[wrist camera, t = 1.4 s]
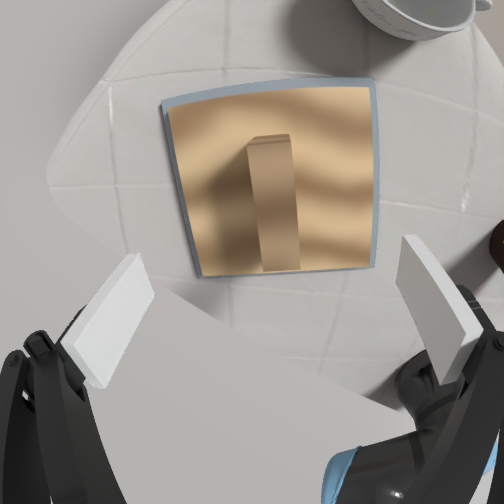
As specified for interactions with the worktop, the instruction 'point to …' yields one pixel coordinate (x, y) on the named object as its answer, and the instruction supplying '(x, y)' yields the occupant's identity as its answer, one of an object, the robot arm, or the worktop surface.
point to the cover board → (315, 171)
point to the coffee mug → (498, 245)
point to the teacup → (421, 16)
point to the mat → (268, 87)
